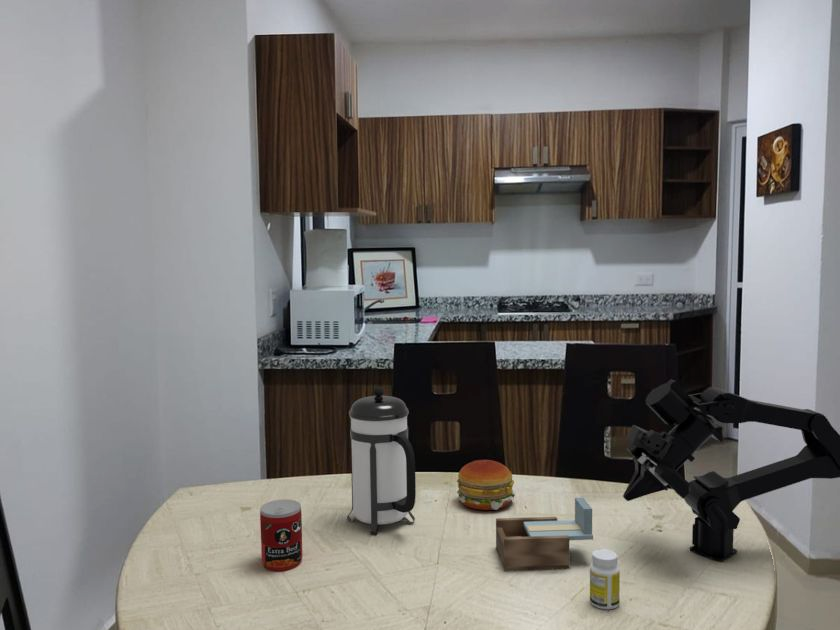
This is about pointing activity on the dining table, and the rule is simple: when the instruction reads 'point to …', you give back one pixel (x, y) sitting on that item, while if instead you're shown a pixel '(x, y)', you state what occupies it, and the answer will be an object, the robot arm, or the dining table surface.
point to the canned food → (281, 534)
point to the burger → (485, 485)
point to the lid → (566, 524)
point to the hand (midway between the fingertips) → (625, 498)
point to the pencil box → (529, 546)
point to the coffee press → (381, 461)
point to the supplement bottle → (604, 579)
